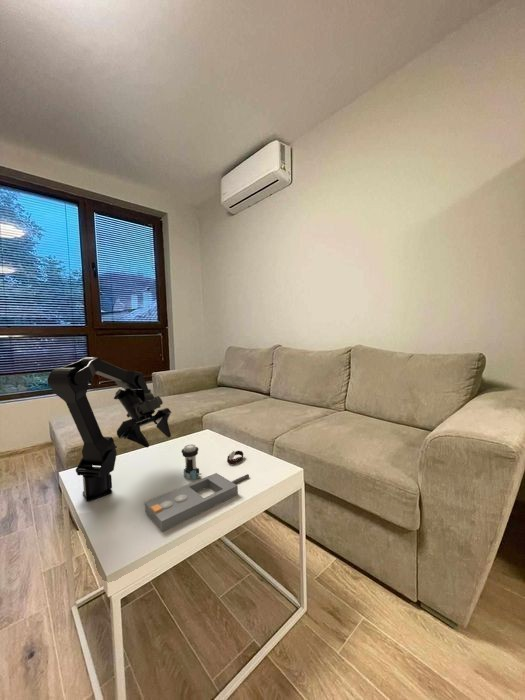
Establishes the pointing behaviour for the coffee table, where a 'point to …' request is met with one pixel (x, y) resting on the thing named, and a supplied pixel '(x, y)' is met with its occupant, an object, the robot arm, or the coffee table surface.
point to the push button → (191, 462)
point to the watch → (233, 456)
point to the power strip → (189, 500)
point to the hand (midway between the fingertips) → (159, 441)
